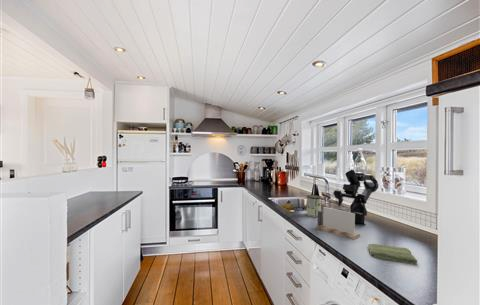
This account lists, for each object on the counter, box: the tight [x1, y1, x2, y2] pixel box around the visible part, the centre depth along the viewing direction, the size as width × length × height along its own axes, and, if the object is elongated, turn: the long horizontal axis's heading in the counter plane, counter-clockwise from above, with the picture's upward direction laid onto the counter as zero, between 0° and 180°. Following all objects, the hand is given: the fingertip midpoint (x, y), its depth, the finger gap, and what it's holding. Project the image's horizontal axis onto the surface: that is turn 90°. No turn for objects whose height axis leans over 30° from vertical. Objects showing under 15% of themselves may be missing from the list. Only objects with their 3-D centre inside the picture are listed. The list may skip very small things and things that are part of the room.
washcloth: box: [367, 243, 418, 265], centre depth 103 cm, size 13×18×3 cm
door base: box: [314, 209, 361, 240], centre depth 132 cm, size 23×8×10 cm, turn 41°
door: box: [321, 206, 356, 234], centre depth 132 cm, size 20×1×11 cm, turn 41°
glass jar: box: [305, 194, 322, 218], centre depth 167 cm, size 10×10×14 cm
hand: (345, 207), depth 137 cm, fingers open, 7 cm apart
